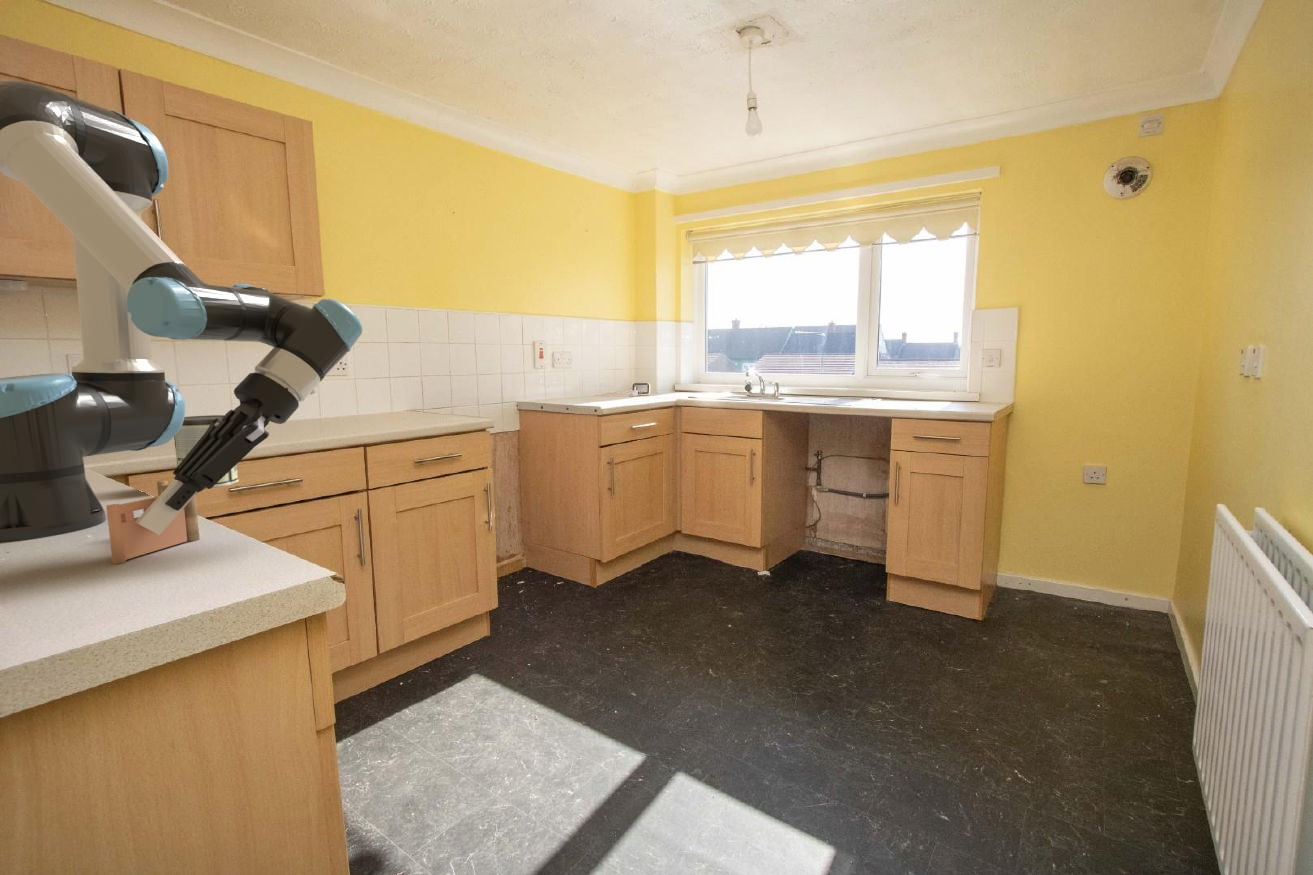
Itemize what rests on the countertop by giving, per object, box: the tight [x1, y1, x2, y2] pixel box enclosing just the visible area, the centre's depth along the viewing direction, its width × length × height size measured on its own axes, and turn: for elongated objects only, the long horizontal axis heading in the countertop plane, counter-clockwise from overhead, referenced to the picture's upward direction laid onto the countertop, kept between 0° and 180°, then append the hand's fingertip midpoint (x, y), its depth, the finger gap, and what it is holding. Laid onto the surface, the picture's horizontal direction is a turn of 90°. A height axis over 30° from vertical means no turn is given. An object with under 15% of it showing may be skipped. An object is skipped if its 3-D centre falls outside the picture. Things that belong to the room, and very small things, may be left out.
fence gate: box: [105, 495, 187, 565], centre depth 79 cm, size 9×1×7 cm, turn 169°
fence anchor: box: [156, 480, 201, 543], centre depth 88 cm, size 11×2×8 cm, turn 55°
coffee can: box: [173, 414, 240, 490], centre depth 129 cm, size 10×10×14 cm
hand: (147, 528), depth 78 cm, fingers closed
